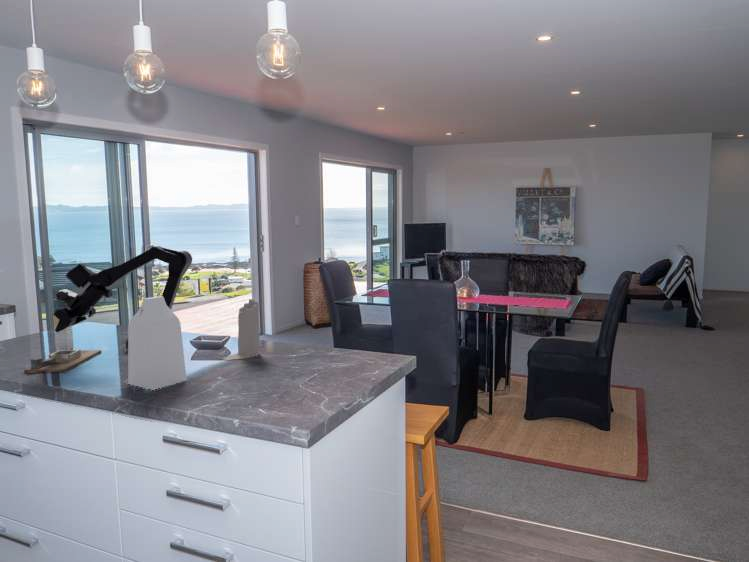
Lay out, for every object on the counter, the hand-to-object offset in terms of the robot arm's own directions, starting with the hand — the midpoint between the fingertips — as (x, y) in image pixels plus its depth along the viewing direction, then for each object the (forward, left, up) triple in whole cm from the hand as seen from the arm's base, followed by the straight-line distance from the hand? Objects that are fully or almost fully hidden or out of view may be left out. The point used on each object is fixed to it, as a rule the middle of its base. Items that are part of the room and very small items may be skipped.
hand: (59, 330), depth 195 cm
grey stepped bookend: (-60, +7, -12) cm, 62 cm away
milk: (-35, +33, -12) cm, 50 cm away
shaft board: (-1, 0, -11) cm, 11 cm away
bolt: (-25, -16, -12) cm, 32 cm away
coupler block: (-1, 0, -7) cm, 7 cm away
